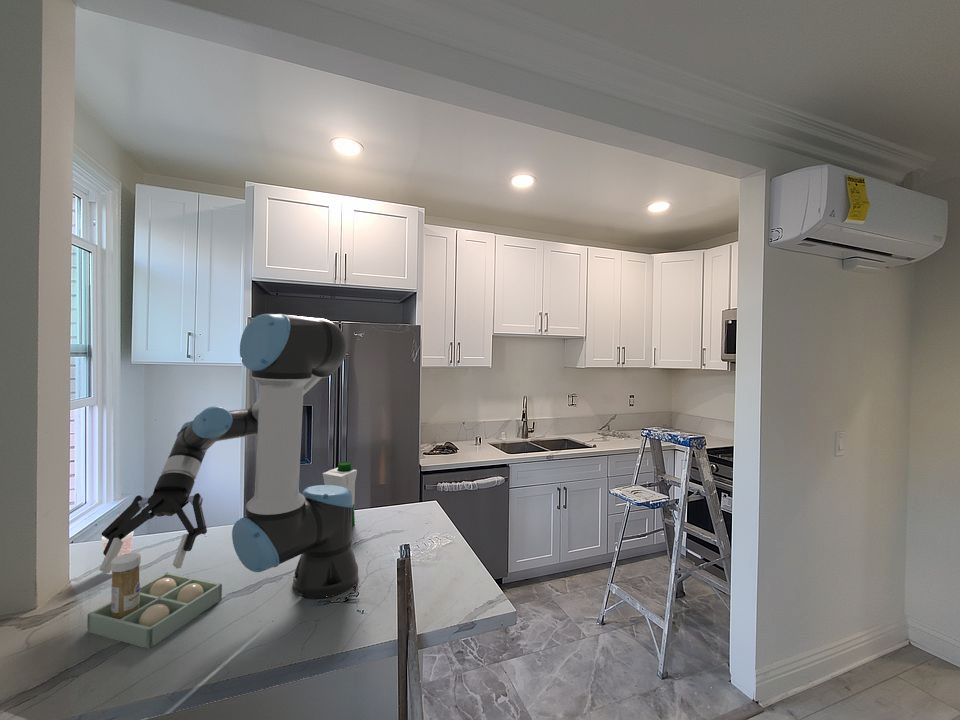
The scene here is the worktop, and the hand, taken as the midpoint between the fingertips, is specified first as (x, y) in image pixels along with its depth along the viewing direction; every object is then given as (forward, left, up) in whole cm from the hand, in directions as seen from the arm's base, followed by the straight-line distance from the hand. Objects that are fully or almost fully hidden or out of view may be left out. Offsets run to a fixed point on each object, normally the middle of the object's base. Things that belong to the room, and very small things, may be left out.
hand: (141, 569), depth 88 cm
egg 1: (-2, -3, -8) cm, 9 cm away
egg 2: (-10, +5, -8) cm, 14 cm away
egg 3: (-10, -3, -8) cm, 13 cm away
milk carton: (-16, -49, -9) cm, 53 cm away
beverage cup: (+22, -10, -9) cm, 26 cm away
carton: (-6, +1, -9) cm, 11 cm away
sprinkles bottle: (-2, +5, -8) cm, 10 cm away
